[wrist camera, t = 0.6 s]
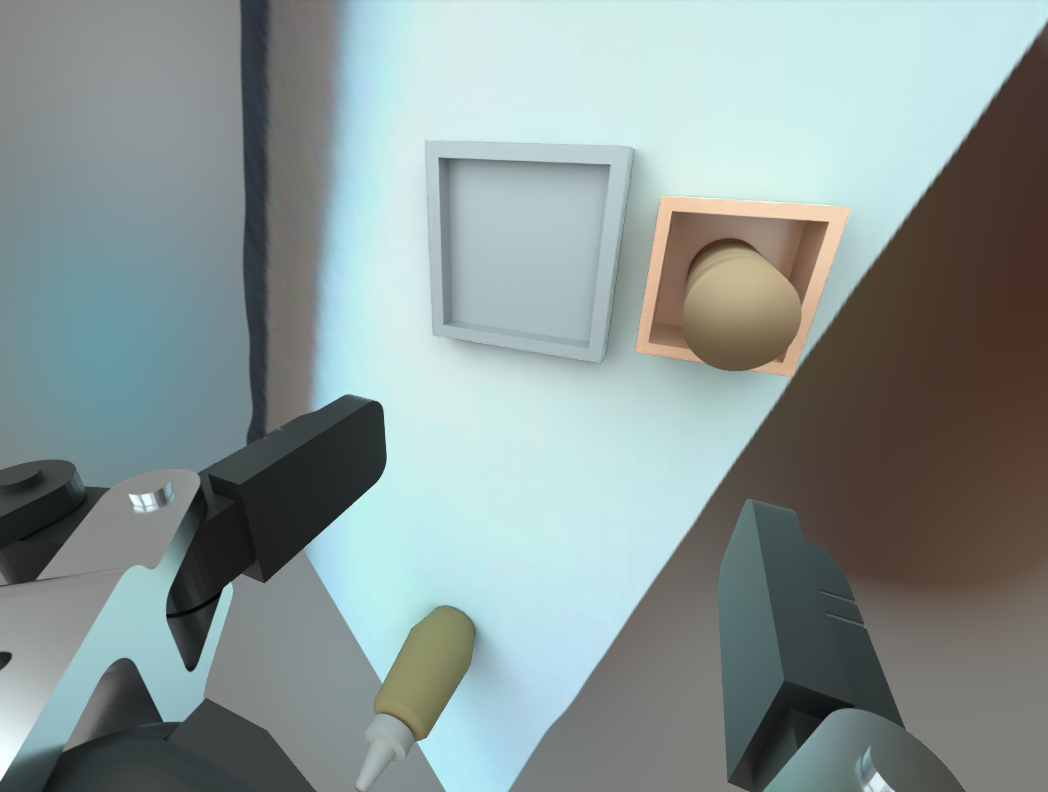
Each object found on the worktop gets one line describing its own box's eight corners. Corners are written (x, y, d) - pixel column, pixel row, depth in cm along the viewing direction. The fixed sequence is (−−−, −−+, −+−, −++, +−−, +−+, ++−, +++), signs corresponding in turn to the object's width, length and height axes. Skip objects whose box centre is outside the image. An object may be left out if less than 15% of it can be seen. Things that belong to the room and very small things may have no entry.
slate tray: (441, 143, 32) (424, 140, 31) (634, 149, 29) (629, 146, 27) (446, 327, 39) (432, 335, 37) (605, 353, 35) (600, 363, 33)
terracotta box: (667, 195, 29) (661, 196, 24) (821, 204, 26) (850, 207, 21) (644, 326, 33) (634, 351, 28) (776, 345, 30) (793, 377, 25)
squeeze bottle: (485, 611, 52) (396, 787, 37) (482, 655, 56) (401, 832, 40) (425, 589, 54) (317, 746, 39) (426, 632, 58) (328, 791, 43)
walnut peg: (695, 235, 28) (694, 259, 18) (772, 241, 27) (818, 271, 17) (680, 304, 30) (672, 361, 20) (752, 313, 29) (782, 379, 19)
